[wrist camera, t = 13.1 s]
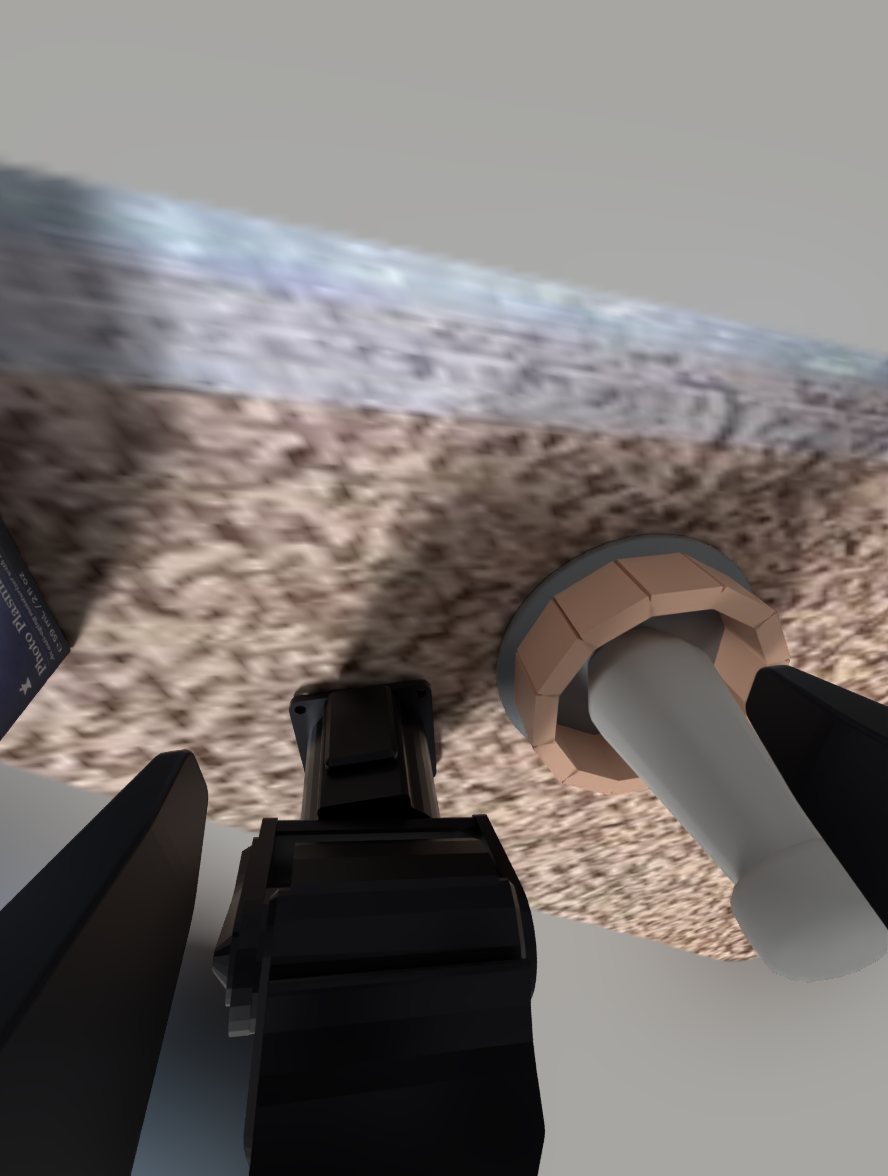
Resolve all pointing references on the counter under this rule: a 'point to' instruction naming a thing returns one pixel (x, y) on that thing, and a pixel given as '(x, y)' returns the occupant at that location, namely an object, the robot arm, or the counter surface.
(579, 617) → the socket
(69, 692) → the counter surface
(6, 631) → the small box
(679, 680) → the salt shaker
